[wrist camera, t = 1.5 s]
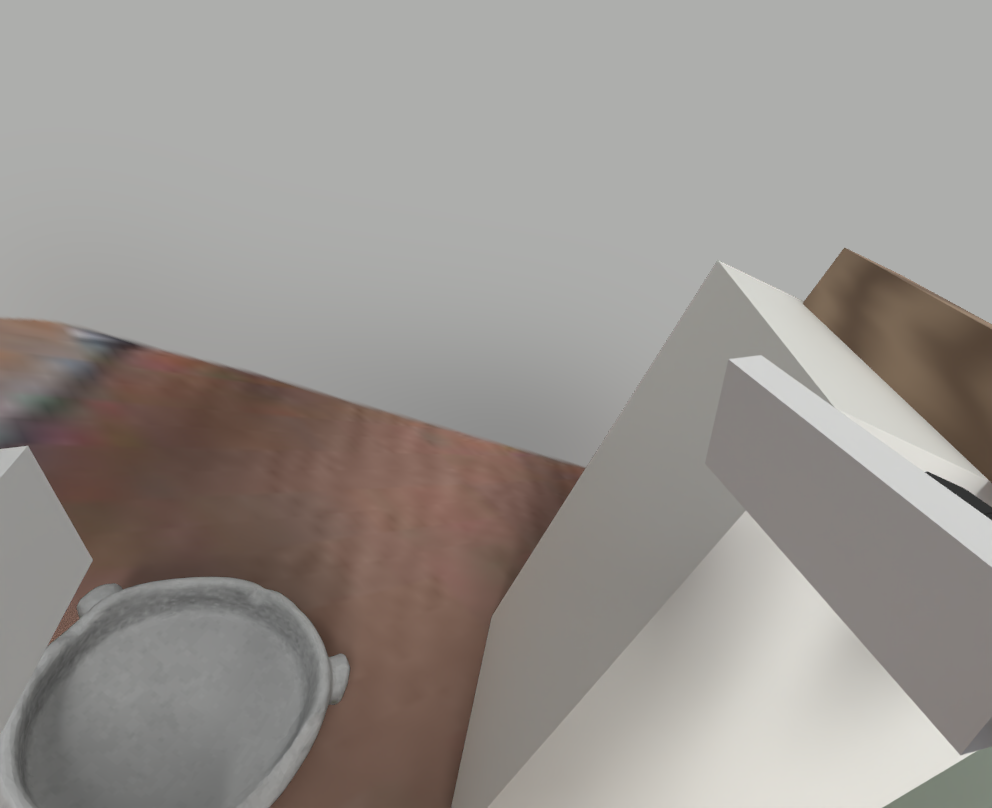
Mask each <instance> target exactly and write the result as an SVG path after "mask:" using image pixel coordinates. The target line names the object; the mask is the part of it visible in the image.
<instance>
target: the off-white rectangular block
mask: <svg viewBox="0 0 992 808" xmlns="http://www.w3.org/2000/svg"><path fill="white" fill-rule="evenodd" d="M803 302H804V301H802V300H800V299H798V298H796V297H794V296H791V295H789V294H787V293H785V292H783V291H781V290H779V289H777V288H775V287H773V286H771V285H769V284H767V283H764V282H762V281H760V280H758V279H756V278H754V277H752V276H750V275H748V274H746V273H743V272H741V271H739V270H737V269H735V268H733V267H731V266H729V265H727V264H725V263H723V262H721V261H719V260H717V262H716V263H715V265H714V266H713V268H712V270H711V271H710V273H709V274H708V276H707V277H706V279H705V281H704V282H703V284H702V285H701V287H700V289H699V290H698V292H697V293H696V295H695V297H694V298H693V300H692V301H691V303H690V304H689V306H688V307H687V309H686V311H685V312H684V314H683V315H682V317H681V319H680V320H679V322H678V323H677V325H676V326H675V328H674V330H673V331H672V333H671V334H670V336H669V337H668V339H667V341H666V342H665V344H664V345H663V347H662V349H661V350H660V352H659V353H658V355H657V356H656V358H655V360H654V361H653V363H652V364H651V366H650V368H649V369H648V371H647V372H646V374H645V375H644V377H643V379H642V380H641V382H640V383H639V385H638V386H637V388H636V390H635V391H634V393H633V394H632V396H631V397H630V399H629V401H628V402H627V404H626V405H625V407H624V408H623V410H622V412H621V413H620V415H619V416H618V418H617V420H616V421H615V423H614V424H613V426H612V427H611V429H610V431H609V432H608V434H607V435H606V437H605V438H604V440H603V442H602V443H601V445H600V446H599V448H598V449H597V451H596V453H595V454H594V456H593V457H592V459H591V461H590V462H589V464H588V465H587V467H586V468H585V470H584V472H583V473H582V475H581V476H580V478H579V479H578V481H577V483H576V484H575V486H574V487H573V489H572V491H571V492H570V494H569V495H568V497H567V498H566V500H565V502H564V503H563V505H562V506H561V508H560V509H559V511H558V513H557V514H556V516H555V517H554V519H553V520H552V522H551V524H550V525H549V527H548V528H547V530H546V532H545V533H544V535H543V536H542V538H541V539H540V541H539V543H538V544H537V546H536V547H535V549H534V550H533V552H532V554H531V555H530V557H529V558H528V560H527V562H526V563H525V565H524V566H523V568H522V569H521V571H520V573H519V574H518V576H517V577H516V579H515V580H514V582H513V584H512V585H511V587H510V588H509V590H508V592H507V593H506V595H505V596H504V598H503V599H502V601H501V603H500V604H499V606H498V607H497V609H496V610H495V612H494V614H493V615H492V618H491V622H490V627H489V632H488V636H487V641H486V646H485V650H484V655H483V660H482V665H481V669H480V674H479V679H478V683H477V688H476V693H475V697H474V702H473V707H472V711H471V716H470V721H469V725H468V730H467V735H466V740H465V744H464V749H463V754H462V758H461V763H460V768H459V772H458V777H457V782H456V786H455V791H454V796H453V801H452V805H451V808H883V807H884V806H886V805H888V804H889V803H891V802H893V801H894V800H896V799H898V798H899V797H901V796H903V795H904V794H906V793H908V792H909V791H911V790H913V789H914V788H916V787H918V786H919V785H921V784H923V783H924V782H926V781H928V780H929V779H931V778H933V777H934V776H936V775H938V774H939V773H941V772H943V771H944V770H946V769H948V768H949V767H951V766H953V765H954V764H956V763H958V762H959V761H961V760H963V759H964V758H966V757H968V756H969V755H971V754H973V753H974V752H976V751H974V752H971V753H967V754H964V755H960V754H959V753H958V752H957V751H956V750H955V749H954V748H953V746H952V745H951V744H950V743H949V742H948V741H947V740H946V738H945V737H944V736H943V735H942V734H941V733H940V732H939V730H938V729H937V728H936V727H935V726H934V725H933V724H932V722H931V721H930V720H929V719H928V718H927V717H926V716H925V714H924V713H923V712H922V711H921V710H920V709H919V708H918V706H917V705H916V704H915V703H914V702H913V701H912V700H911V698H910V697H909V696H908V695H907V694H906V693H905V692H904V690H903V689H902V688H901V687H900V686H899V685H898V684H897V682H896V681H895V680H894V679H893V678H892V677H891V676H890V674H889V673H888V672H887V671H886V670H885V669H884V668H883V666H882V665H881V664H880V663H879V662H878V661H877V660H876V658H875V657H874V656H873V655H872V654H871V653H870V652H869V650H868V649H867V648H866V647H865V646H864V645H863V644H862V642H861V641H860V640H859V639H858V638H857V637H856V636H855V634H854V633H853V632H852V631H851V630H850V629H849V628H848V626H847V625H846V624H845V623H844V622H843V621H842V620H841V618H840V617H839V616H838V615H837V614H836V613H835V612H834V610H833V609H832V608H831V607H830V606H829V605H828V604H827V602H826V601H825V600H824V599H823V598H822V597H821V596H820V594H819V593H818V592H817V591H816V590H815V589H814V588H813V586H812V585H811V584H810V583H809V582H808V581H807V580H806V578H805V577H804V576H803V575H802V574H801V573H800V572H799V570H798V569H797V568H796V567H795V566H794V565H793V564H792V562H791V561H790V560H789V559H788V558H787V557H786V556H785V554H784V553H783V552H782V551H781V550H780V549H779V548H778V546H777V545H776V544H775V543H774V542H773V541H772V540H771V538H770V537H769V536H768V535H767V534H766V533H765V532H764V530H763V529H762V528H761V527H760V526H759V525H758V524H757V522H756V521H755V520H754V519H753V518H752V517H751V516H750V514H749V513H748V512H747V511H746V510H745V509H744V508H743V506H742V505H741V504H740V503H739V502H738V501H737V500H736V498H735V497H734V496H733V495H732V494H731V493H730V492H729V490H728V489H727V488H726V487H725V486H724V485H723V484H722V482H721V481H720V480H719V479H718V478H717V477H716V476H715V475H714V473H713V472H712V471H711V470H710V469H709V468H708V467H707V465H706V464H705V461H706V456H707V452H708V447H709V443H710V438H711V434H712V430H713V425H714V421H715V416H716V412H717V407H718V403H719V399H720V394H721V390H722V385H723V381H724V376H725V372H726V368H727V363H728V359H734V358H742V357H750V356H758V355H762V356H763V357H764V358H766V359H767V360H769V361H770V362H771V363H773V364H774V365H776V366H777V367H778V368H780V369H781V370H783V371H784V372H785V373H787V374H788V375H790V376H791V377H792V378H794V379H795V380H797V381H798V382H799V383H801V384H802V385H804V386H805V387H806V388H808V389H809V390H810V391H812V392H813V393H815V394H816V395H817V396H819V397H820V398H822V399H823V400H824V401H826V402H827V403H829V404H830V405H831V406H833V407H834V408H836V409H837V410H838V411H840V412H841V413H843V414H844V415H845V416H847V417H848V418H850V419H851V420H852V421H854V422H855V423H857V424H858V425H859V426H861V427H862V428H864V429H865V430H866V431H868V432H869V433H871V434H872V435H873V436H875V437H876V438H878V439H879V440H880V441H882V442H883V443H884V444H886V445H887V446H889V447H890V448H891V449H893V450H894V451H896V452H897V453H898V454H900V455H901V456H903V457H904V458H905V459H907V460H908V461H910V462H911V463H912V464H914V465H915V466H917V467H918V468H919V469H921V470H922V471H924V472H927V471H928V472H930V473H932V474H934V475H937V476H939V477H941V478H943V479H945V480H947V481H950V482H952V483H954V484H956V485H958V486H960V487H963V488H965V489H966V490H968V491H969V492H971V493H972V494H974V495H975V496H976V497H978V498H979V499H981V500H982V501H984V502H985V503H986V504H988V505H989V506H991V507H992V483H991V482H990V481H989V480H988V479H987V478H986V477H985V476H984V475H983V474H982V473H981V472H980V471H979V470H978V469H976V468H975V467H974V466H973V465H972V464H971V463H970V462H969V461H968V460H967V459H966V458H965V457H964V456H963V455H962V454H961V453H960V452H959V451H957V450H956V449H955V448H954V447H953V446H952V445H951V444H950V443H949V442H948V441H947V440H946V439H945V438H944V437H943V436H942V435H941V434H940V433H938V432H937V431H936V430H935V429H934V428H933V427H932V426H931V425H930V424H929V423H928V422H927V421H926V420H925V419H924V418H923V417H922V416H921V415H919V414H918V413H917V412H916V411H915V410H914V409H913V408H912V407H911V406H910V405H909V404H908V403H907V402H906V401H905V400H904V399H903V398H902V397H900V396H899V395H898V394H897V393H896V392H895V391H894V390H893V389H892V388H891V387H890V386H889V385H888V384H887V383H886V382H885V381H884V380H883V379H881V378H880V377H879V376H878V375H877V374H876V373H875V372H874V371H873V370H872V369H871V368H870V367H869V366H868V365H867V364H866V363H865V362H864V361H863V360H861V359H860V358H859V357H858V356H857V355H856V354H855V353H854V352H853V351H852V350H851V349H850V348H849V347H848V346H847V345H846V344H845V343H844V342H842V341H841V340H840V339H839V338H838V337H837V336H836V335H835V334H834V333H833V332H832V331H831V330H830V329H829V328H828V327H827V326H826V325H825V324H823V323H822V322H821V321H820V320H819V319H818V318H817V317H816V316H815V315H814V314H813V313H812V312H811V311H810V310H809V309H808V308H807V307H806V306H804V305H803Z"/></svg>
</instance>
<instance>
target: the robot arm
mask: <svg viewBox="0 0 992 808" xmlns="http://www.w3.org/2000/svg"><path fill="white" fill-rule="evenodd" d="M705 464H706V465H707V467H708V468H709V469H710V470H711V471H712V472H713V473H714V475H715V476H716V477H717V478H718V479H719V480H720V481H721V482H722V484H723V485H724V486H725V487H726V488H727V489H728V490H729V492H730V493H731V494H732V495H733V496H734V497H735V498H736V500H737V501H738V502H739V503H740V504H741V505H742V506H743V508H744V509H745V510H746V511H747V512H748V513H749V514H750V516H751V517H752V518H753V519H754V520H755V521H756V522H757V524H758V525H759V526H760V527H761V528H762V529H763V530H764V532H765V533H766V534H767V535H768V536H769V537H770V538H771V540H772V541H773V542H774V543H775V544H776V545H777V546H778V548H779V549H780V550H781V551H782V552H783V553H784V554H785V556H786V557H787V558H788V559H789V560H790V561H791V562H792V564H793V565H794V566H795V567H796V568H797V569H798V570H799V572H800V573H801V574H802V575H803V576H804V577H805V578H806V580H807V581H808V582H809V583H810V584H811V585H812V586H813V588H814V589H815V590H816V591H817V592H818V593H819V594H820V596H821V597H822V598H823V599H824V600H825V601H826V602H827V604H828V605H829V606H830V607H831V608H832V609H833V610H834V612H835V613H836V614H837V615H838V616H839V617H840V618H841V620H842V621H843V622H844V623H845V624H846V625H847V626H848V628H849V629H850V630H851V631H852V632H853V633H854V634H855V636H856V637H857V638H858V639H859V640H860V641H861V642H862V644H863V645H864V646H865V647H866V648H867V649H868V650H869V652H870V653H871V654H872V655H873V656H874V657H875V658H876V660H877V661H878V662H879V663H880V664H881V665H882V666H883V668H884V669H885V670H886V671H887V672H888V673H889V674H890V676H891V677H892V678H893V679H894V680H895V681H896V682H897V684H898V685H899V686H900V687H901V688H902V689H903V690H904V692H905V693H906V694H907V695H908V696H909V697H910V698H911V700H912V701H913V702H914V703H915V704H916V705H917V706H918V708H919V709H920V710H921V711H922V712H923V713H924V714H925V716H926V717H927V718H928V719H929V720H930V721H931V722H932V724H933V725H934V726H935V727H936V728H937V729H938V730H939V732H940V733H941V734H942V735H943V736H944V737H945V738H946V740H947V741H948V742H949V743H950V744H951V745H952V746H953V748H954V749H955V750H956V751H957V752H958V753H959V754H960V755H964V754H967V753H971V752H974V751H978V750H981V749H985V748H989V747H992V507H991V506H989V505H988V504H986V503H985V502H984V501H982V500H981V499H979V498H978V497H976V496H975V495H974V494H972V493H971V492H969V491H968V490H966V489H965V488H963V487H960V486H958V485H956V484H954V483H952V482H950V481H947V480H945V479H943V478H941V477H939V476H937V475H934V474H932V473H930V472H928V471H927V472H924V471H922V470H921V469H919V468H918V467H917V466H915V465H914V464H912V463H911V462H910V461H908V460H907V459H905V458H904V457H903V456H901V455H900V454H898V453H897V452H896V451H894V450H893V449H891V448H890V447H889V446H887V445H886V444H884V443H883V442H882V441H880V440H879V439H878V438H876V437H875V436H873V435H872V434H871V433H869V432H868V431H866V430H865V429H864V428H862V427H861V426H859V425H858V424H857V423H855V422H854V421H852V420H851V419H850V418H848V417H847V416H845V415H844V414H843V413H841V412H840V411H838V410H837V409H836V408H834V407H833V406H831V405H830V404H829V403H827V402H826V401H824V400H823V399H822V398H820V397H819V396H817V395H816V394H815V393H813V392H812V391H810V390H809V389H808V388H806V387H805V386H804V385H802V384H801V383H799V382H798V381H797V380H795V379H794V378H792V377H791V376H790V375H788V374H787V373H785V372H784V371H783V370H781V369H780V368H778V367H777V366H776V365H774V364H773V363H771V362H770V361H769V360H767V359H766V358H764V357H763V356H762V355H758V356H750V357H742V358H734V359H728V363H727V368H726V372H725V376H724V381H723V385H722V390H721V394H720V399H719V403H718V407H717V412H716V416H715V421H714V425H713V430H712V434H711V438H710V443H709V447H708V452H707V456H706V461H705ZM92 561H93V559H92V558H91V556H90V554H89V552H88V551H87V549H86V547H85V545H84V544H83V542H82V540H81V538H80V536H79V535H78V533H77V531H76V529H75V528H74V526H73V524H72V522H71V521H70V519H69V517H68V515H67V514H66V512H65V510H64V508H63V507H62V505H61V503H60V501H59V500H58V498H57V496H56V494H55V492H54V491H53V489H52V487H51V485H50V484H49V482H48V480H47V478H46V477H45V475H44V473H43V471H42V470H41V468H40V466H39V464H38V463H37V461H36V459H35V457H34V456H33V454H32V452H31V450H30V449H29V447H28V446H22V447H14V448H6V449H0V734H1V732H2V730H3V728H4V726H5V724H6V723H7V721H8V719H9V717H10V715H11V713H12V711H13V709H14V708H15V706H16V704H17V702H18V700H19V698H20V696H21V694H22V692H23V691H24V689H25V687H26V685H27V683H28V681H29V679H30V677H31V676H32V674H33V672H34V670H35V668H36V666H37V664H38V662H39V660H40V659H41V657H42V655H43V653H44V651H45V649H46V647H47V645H48V644H49V642H50V640H51V638H52V636H53V634H54V632H55V630H56V628H57V627H58V625H59V623H60V621H61V619H62V617H63V615H64V613H65V612H66V610H67V608H68V606H69V604H70V602H71V600H72V598H73V596H74V595H75V593H76V591H77V589H78V587H79V585H80V583H81V581H82V580H83V578H84V576H85V574H86V572H87V570H88V568H89V566H90V564H91V563H92Z"/></svg>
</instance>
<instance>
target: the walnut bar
mask: <svg viewBox="0 0 992 808" xmlns="http://www.w3.org/2000/svg"><path fill="white" fill-rule="evenodd" d="M803 305H804V306H806V307H807V308H808V309H809V310H810V311H811V312H812V313H813V314H814V315H815V316H816V317H817V318H818V319H819V320H820V321H821V322H822V323H823V324H825V325H826V326H827V327H828V328H829V329H830V330H831V331H832V332H833V333H834V334H835V335H836V336H837V337H838V338H839V339H840V340H841V341H842V342H844V343H845V344H846V345H847V346H848V347H849V348H850V349H851V350H852V351H853V352H854V353H855V354H856V355H857V356H858V357H859V358H860V359H861V360H863V361H864V362H865V363H866V364H867V365H868V366H869V367H870V368H871V369H872V370H873V371H874V372H875V373H876V374H877V375H878V376H879V377H880V378H881V379H883V380H884V381H885V382H886V383H887V384H888V385H889V386H890V387H891V388H892V389H893V390H894V391H895V392H896V393H897V394H898V395H899V396H900V397H902V398H903V399H904V400H905V401H906V402H907V403H908V404H909V405H910V406H911V407H912V408H913V409H914V410H915V411H916V412H917V413H918V414H919V415H921V416H922V417H923V418H924V419H925V420H926V421H927V422H928V423H929V424H930V425H931V426H932V427H933V428H934V429H935V430H936V431H937V432H938V433H940V434H941V435H942V436H943V437H944V438H945V439H946V440H947V441H948V442H949V443H950V444H951V445H952V446H953V447H954V448H955V449H956V450H957V451H959V452H960V453H961V454H962V455H963V456H964V457H965V458H966V459H967V460H968V461H969V462H970V463H971V464H972V465H973V466H974V467H975V468H976V469H978V470H979V471H980V472H981V473H982V474H983V475H984V476H985V477H986V478H987V479H988V480H989V481H990V482H991V483H992V324H990V323H988V322H986V321H984V320H983V319H981V318H979V317H977V316H975V315H974V314H972V313H970V312H968V311H966V310H964V309H962V308H961V307H959V306H957V305H955V304H953V303H951V302H950V301H948V300H946V299H944V298H942V297H940V296H939V295H937V294H935V293H933V292H931V291H929V290H928V289H926V288H924V287H922V286H920V285H918V284H917V283H915V282H913V281H911V280H909V279H907V278H905V277H903V276H902V275H900V274H897V273H896V272H894V271H892V270H890V269H887V268H885V267H883V266H881V265H879V264H877V263H875V262H873V261H871V260H869V259H867V258H865V257H863V256H861V255H859V254H857V253H855V252H852V251H850V250H848V249H846V248H844V249H843V250H842V252H841V253H840V254H839V256H838V257H837V258H836V260H835V261H834V262H833V264H832V265H831V266H830V268H829V269H828V270H827V272H826V273H825V274H824V276H823V277H822V278H821V280H820V281H819V282H818V284H817V285H816V286H815V288H814V289H813V290H812V292H811V293H810V294H809V296H808V297H807V298H806V300H805V301H804V302H803Z"/></svg>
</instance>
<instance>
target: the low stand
mask: <svg viewBox="0 0 992 808" xmlns="http://www.w3.org/2000/svg"><path fill="white" fill-rule="evenodd" d="M883 808H992V747H989V748H985V749H981V750H978V751H976V752H974V753H973V754H971V755H969V756H968V757H966V758H964V759H963V760H961V761H959V762H958V763H956V764H954V765H953V766H951V767H949V768H948V769H946V770H944V771H943V772H941V773H939V774H938V775H936V776H934V777H933V778H931V779H929V780H928V781H926V782H924V783H923V784H921V785H919V786H918V787H916V788H914V789H913V790H911V791H909V792H908V793H906V794H904V795H903V796H901V797H899V798H898V799H896V800H894V801H893V802H891V803H889V804H888V805H886V806H884V807H883Z"/></svg>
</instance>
